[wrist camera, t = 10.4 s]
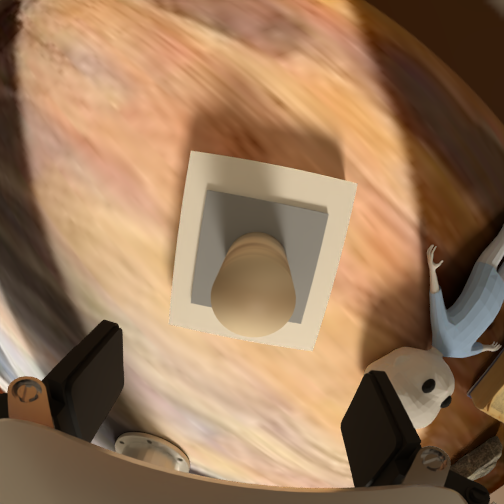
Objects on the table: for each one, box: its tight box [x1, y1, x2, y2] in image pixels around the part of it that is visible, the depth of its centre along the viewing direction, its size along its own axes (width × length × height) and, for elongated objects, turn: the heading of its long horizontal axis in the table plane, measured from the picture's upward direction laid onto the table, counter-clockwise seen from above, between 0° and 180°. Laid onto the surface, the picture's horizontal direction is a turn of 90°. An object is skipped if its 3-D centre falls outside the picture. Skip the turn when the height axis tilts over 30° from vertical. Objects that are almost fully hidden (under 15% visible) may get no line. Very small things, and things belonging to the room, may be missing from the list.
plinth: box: [169, 151, 357, 351], centre depth 28 cm, size 16×14×4 cm
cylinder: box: [211, 232, 296, 337], centre depth 22 cm, size 5×5×8 cm
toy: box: [364, 224, 504, 429], centre depth 28 cm, size 21×10×30 cm
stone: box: [449, 436, 502, 481], centre depth 36 cm, size 14×7×10 cm, turn 135°
